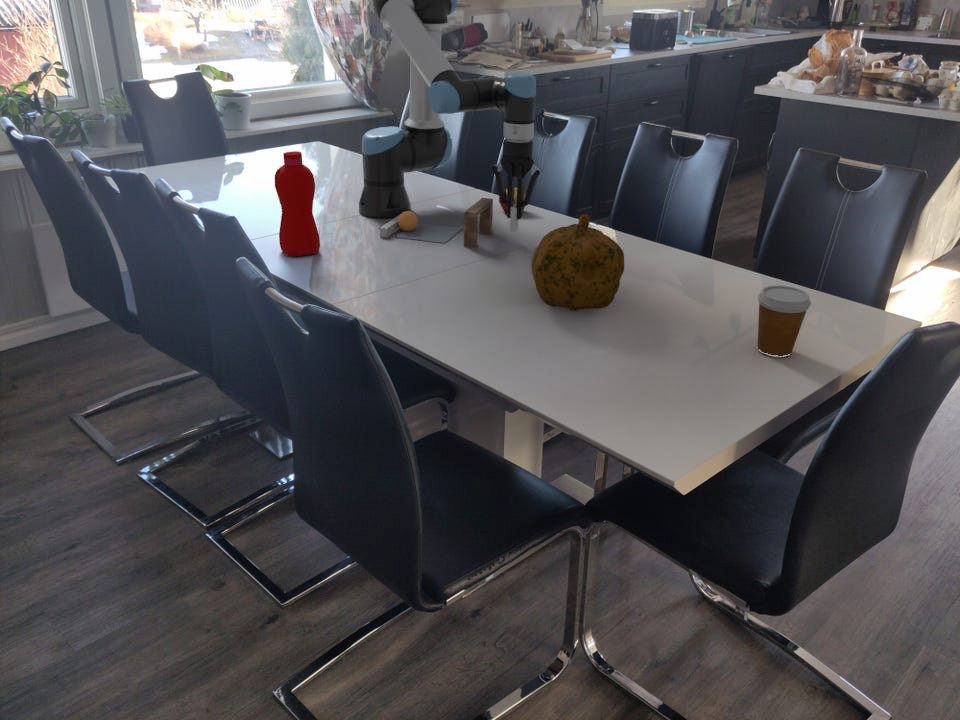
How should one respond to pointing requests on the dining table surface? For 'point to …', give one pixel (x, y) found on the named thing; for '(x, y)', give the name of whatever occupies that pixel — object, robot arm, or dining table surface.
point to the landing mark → (430, 233)
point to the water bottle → (296, 207)
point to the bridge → (471, 221)
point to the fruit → (513, 203)
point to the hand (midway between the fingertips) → (513, 230)
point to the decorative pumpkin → (577, 267)
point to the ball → (408, 221)
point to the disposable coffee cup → (780, 318)
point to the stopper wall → (389, 227)
